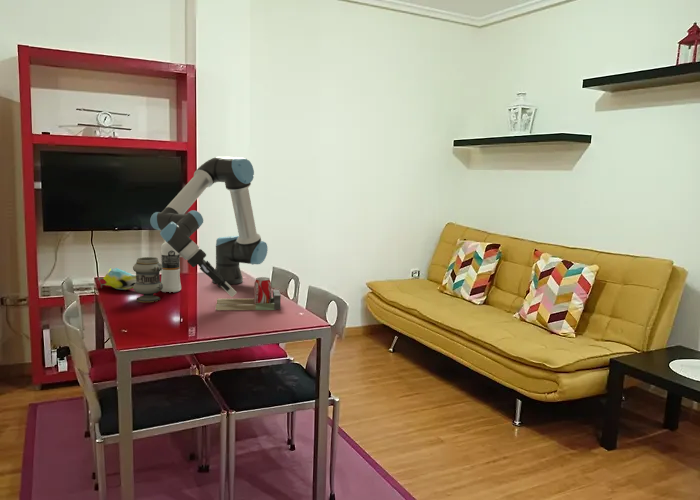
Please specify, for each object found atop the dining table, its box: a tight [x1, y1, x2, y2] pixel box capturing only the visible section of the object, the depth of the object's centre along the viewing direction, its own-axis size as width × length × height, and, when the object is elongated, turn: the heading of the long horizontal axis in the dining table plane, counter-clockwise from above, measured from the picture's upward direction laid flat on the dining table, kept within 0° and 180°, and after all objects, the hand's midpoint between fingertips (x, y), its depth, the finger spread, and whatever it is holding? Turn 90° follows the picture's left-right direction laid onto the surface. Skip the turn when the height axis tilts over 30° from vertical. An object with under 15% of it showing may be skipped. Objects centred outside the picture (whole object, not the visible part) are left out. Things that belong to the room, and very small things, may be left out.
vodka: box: [160, 241, 182, 294], centre depth 259 cm, size 9×9×30 cm
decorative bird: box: [97, 267, 136, 291], centre depth 262 cm, size 14×30×9 cm, turn 58°
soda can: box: [253, 276, 272, 304], centre depth 237 cm, size 7×7×12 cm
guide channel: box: [215, 289, 282, 311], centre depth 237 cm, size 12×26×6 cm, turn 101°
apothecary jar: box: [132, 256, 163, 303], centre depth 241 cm, size 12×12×18 cm
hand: (234, 294), depth 235 cm, fingers closed
